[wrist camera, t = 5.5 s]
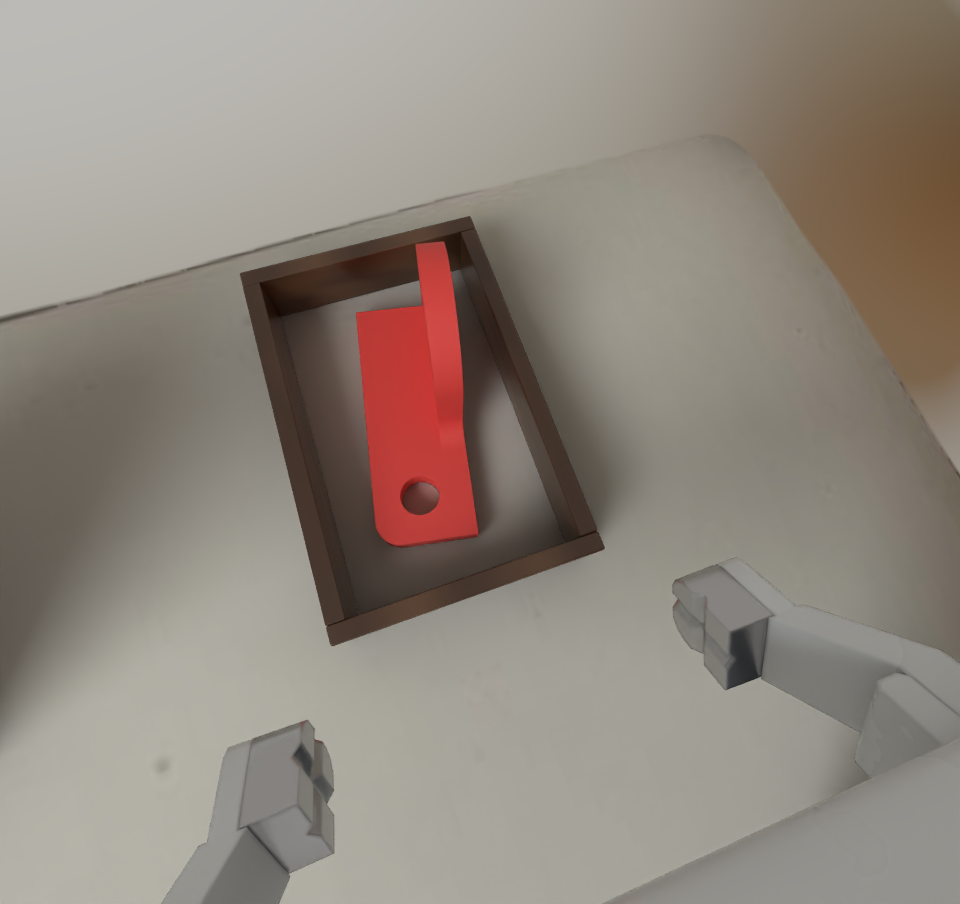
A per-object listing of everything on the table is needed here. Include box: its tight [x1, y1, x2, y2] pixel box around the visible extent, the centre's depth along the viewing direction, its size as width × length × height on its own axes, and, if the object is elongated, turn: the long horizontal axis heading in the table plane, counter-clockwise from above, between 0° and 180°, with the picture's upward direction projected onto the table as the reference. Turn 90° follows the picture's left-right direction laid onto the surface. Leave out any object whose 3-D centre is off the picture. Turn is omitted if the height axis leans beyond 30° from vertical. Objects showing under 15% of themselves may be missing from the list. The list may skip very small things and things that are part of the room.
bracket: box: [356, 242, 479, 548], centre depth 21 cm, size 12×4×8 cm, turn 9°
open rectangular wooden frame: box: [240, 216, 605, 646], centre depth 24 cm, size 12×18×3 cm, turn 19°
